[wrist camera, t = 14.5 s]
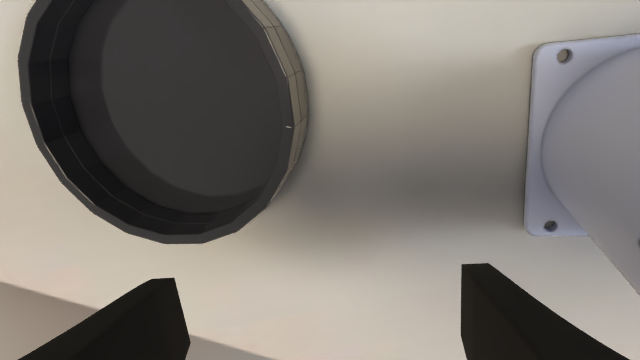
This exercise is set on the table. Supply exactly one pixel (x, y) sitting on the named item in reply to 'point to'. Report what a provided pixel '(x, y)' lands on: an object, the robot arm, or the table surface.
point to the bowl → (165, 110)
